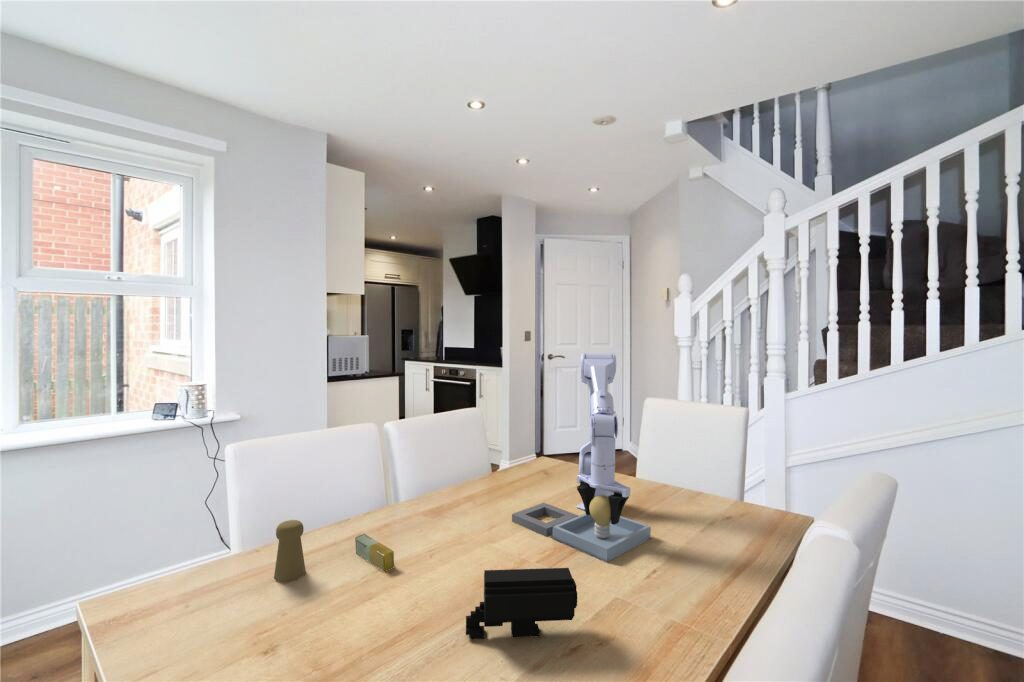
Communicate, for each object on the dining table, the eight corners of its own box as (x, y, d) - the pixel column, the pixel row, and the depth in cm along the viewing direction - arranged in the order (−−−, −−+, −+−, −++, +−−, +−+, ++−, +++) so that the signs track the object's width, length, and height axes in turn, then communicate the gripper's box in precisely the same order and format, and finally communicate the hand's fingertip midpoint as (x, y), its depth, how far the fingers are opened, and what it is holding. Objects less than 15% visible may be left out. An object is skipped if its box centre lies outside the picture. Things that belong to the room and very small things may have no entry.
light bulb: (615, 532, 122) (616, 492, 122) (614, 543, 116) (615, 501, 115) (590, 529, 124) (590, 490, 123) (587, 540, 117) (588, 499, 117)
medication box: (354, 554, 111) (354, 536, 111) (365, 549, 113) (365, 532, 113) (384, 573, 103) (383, 554, 103) (395, 568, 105) (394, 550, 105)
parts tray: (597, 519, 132) (597, 508, 132) (650, 538, 120) (650, 526, 120) (552, 538, 119) (552, 526, 119) (606, 562, 108) (607, 549, 108)
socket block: (543, 509, 138) (543, 502, 138) (578, 522, 129) (578, 515, 129) (511, 521, 130) (512, 514, 130) (546, 536, 121) (546, 528, 121)
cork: (312, 570, 103) (312, 518, 103) (290, 584, 97) (290, 530, 97) (289, 565, 105) (289, 514, 105) (266, 579, 99) (266, 525, 99)
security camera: (466, 622, 86) (466, 566, 85) (570, 618, 87) (571, 563, 87) (465, 648, 79) (466, 587, 79) (578, 643, 80) (579, 583, 80)
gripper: (569, 460, 122) (568, 514, 122) (618, 473, 111) (617, 532, 112) (586, 455, 127) (586, 506, 127) (635, 467, 116) (634, 524, 116)
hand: (601, 518), depth 120 cm, fingers open, 7 cm apart
